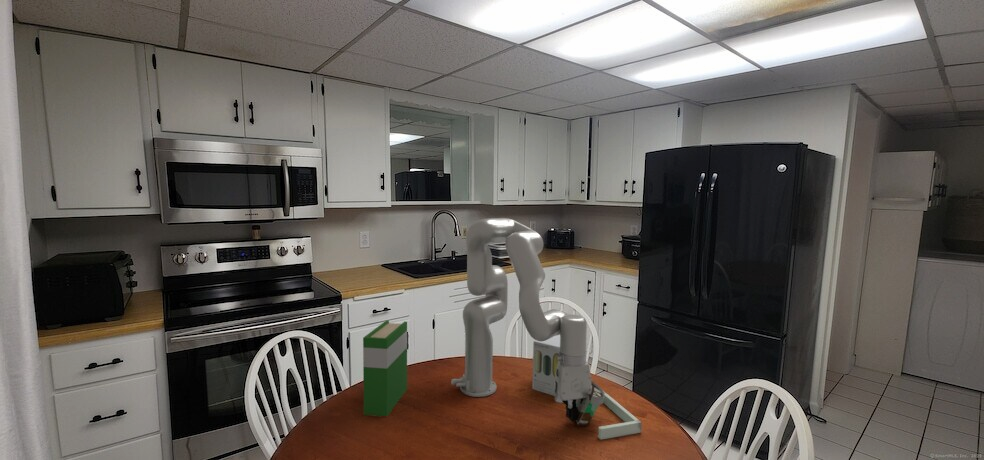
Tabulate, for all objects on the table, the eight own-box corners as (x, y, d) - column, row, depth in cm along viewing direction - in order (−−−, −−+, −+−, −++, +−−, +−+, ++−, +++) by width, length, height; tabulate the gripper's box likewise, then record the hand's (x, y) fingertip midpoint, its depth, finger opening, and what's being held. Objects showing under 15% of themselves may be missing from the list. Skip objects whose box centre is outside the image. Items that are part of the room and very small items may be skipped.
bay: (600, 439, 110) (600, 429, 109) (567, 405, 128) (567, 396, 128) (641, 432, 113) (641, 422, 113) (603, 400, 132) (603, 391, 132)
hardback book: (386, 388, 138) (386, 320, 136) (407, 389, 137) (407, 321, 135) (363, 415, 121) (363, 337, 119) (387, 417, 120) (386, 339, 118)
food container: (598, 434, 114) (612, 403, 113) (579, 427, 113) (593, 396, 112) (585, 408, 126) (597, 380, 125) (567, 402, 125) (580, 374, 124)
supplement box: (531, 389, 139) (532, 340, 138) (547, 376, 150) (548, 330, 149) (566, 400, 131) (568, 348, 130) (581, 385, 142) (582, 337, 141)
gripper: (554, 365, 110) (553, 429, 111) (602, 360, 114) (601, 422, 115) (544, 355, 118) (543, 416, 119) (589, 351, 122) (588, 409, 123)
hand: (571, 418), depth 117 cm, fingers closed
